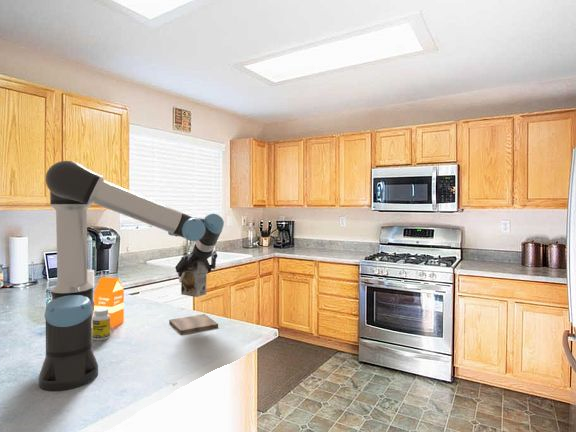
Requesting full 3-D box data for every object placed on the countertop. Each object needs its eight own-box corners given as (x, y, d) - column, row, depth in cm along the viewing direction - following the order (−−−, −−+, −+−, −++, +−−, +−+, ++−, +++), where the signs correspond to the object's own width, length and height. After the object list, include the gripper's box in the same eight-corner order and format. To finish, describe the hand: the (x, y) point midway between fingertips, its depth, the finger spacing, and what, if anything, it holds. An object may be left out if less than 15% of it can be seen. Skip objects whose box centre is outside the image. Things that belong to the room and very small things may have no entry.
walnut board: (180, 334, 145) (180, 330, 145) (169, 323, 159) (169, 319, 159) (218, 327, 154) (218, 323, 154) (204, 317, 167) (204, 314, 167)
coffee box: (180, 294, 155) (180, 257, 155) (191, 291, 161) (191, 255, 160) (196, 297, 151) (196, 258, 150) (207, 294, 156) (207, 256, 156)
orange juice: (112, 327, 153) (112, 279, 152) (93, 325, 154) (93, 278, 154) (124, 321, 160) (124, 276, 160) (106, 320, 162) (106, 275, 161)
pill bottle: (90, 341, 137) (90, 312, 136) (94, 335, 142) (94, 307, 142) (108, 340, 138) (108, 311, 138) (111, 334, 144) (111, 306, 144)
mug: (70, 288, 219) (70, 271, 219) (92, 286, 227) (92, 269, 227) (73, 291, 213) (73, 273, 212) (96, 288, 221) (96, 271, 220)
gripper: (179, 254, 136) (167, 288, 150) (233, 251, 149) (217, 282, 162) (174, 239, 141) (163, 273, 154) (227, 237, 153) (213, 269, 167)
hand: (191, 278), depth 158 cm, fingers closed on coffee box, 9 cm apart
